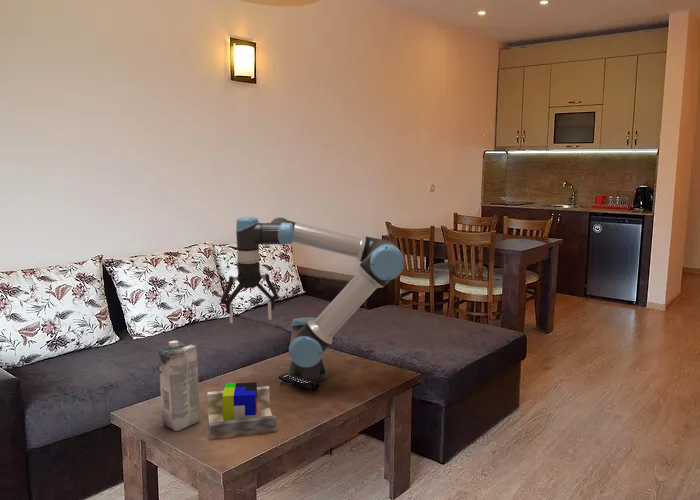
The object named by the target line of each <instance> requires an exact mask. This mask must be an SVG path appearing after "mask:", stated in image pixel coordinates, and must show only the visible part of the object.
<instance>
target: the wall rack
mask: <svg viewBox="0 0 700 500" xmlns="http://www.w3.org/2000/svg"><path fill="white" fill-rule="evenodd" d="M223 392H224V390H216V391H207V393H206V394H207V415H208V430H209V431H208V432H209V440H219V439H225V438H226V439H227V438H235V437H242V436H251V435H261V434H266V433H275V432H277V416H276V415H275V414H272V410H271V405H270V404H271V401H270V400H271V397H270V396H271V395H270V385H265V386H259V387H258V386H257V417H255V418H246V419H238V420H229V421H223Z"/></svg>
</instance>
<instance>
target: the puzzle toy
mask: <svg viewBox="0 0 700 500" xmlns="http://www.w3.org/2000/svg"><path fill="white" fill-rule="evenodd" d="M257 385H258V383H257V381H256V382H253V381H252V382H232V383H225V385H224V389H223V391H224V392H223V421H229V420H238V419H246V418H255V417H257V387H258V386H257Z"/></svg>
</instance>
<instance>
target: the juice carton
mask: <svg viewBox="0 0 700 500" xmlns="http://www.w3.org/2000/svg"><path fill="white" fill-rule="evenodd" d="M157 350H158V368H159V370H158V371H159V385H160V386H159V387H160V388H159V389H160V403H161V418H162V423H163V425H164V426H165V427H167V428H170V429H171V430H174V431H176V432H180V431H181V430H184V429H185V428H187V427H190V426H193V425H195V424H197V423H199V422H200V395H199V394H200V391H199V390H200V389H199V372H198V371H199V365H198V346H197V345H194V344H191V343H189V342H185V341H178V340H171V341H168V346H162V347H159V348H158V349H157Z"/></svg>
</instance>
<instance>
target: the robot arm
mask: <svg viewBox="0 0 700 500" xmlns="http://www.w3.org/2000/svg"><path fill="white" fill-rule="evenodd" d="M235 228H236V229H235V234H236V236H235V237H236V250H237V252H236V253H237V255H236V257H237V262H238V263H237V276H232V275H229V277H228V283H227V284H226V287H225V290H224V291H223V293H222V296H221V298H220V300H219V301H220V304H222V305H225V312H226V314H227V315H228V314H229V323H230V324H233V323H234V321H233V320H234V319H233V304H232V302H233V301H234V299H235V298H236V297H237V295H239V293H240V291H242V289H247V290H248V289H255V288H258V289H259V290H260V291H261V292H262V293H263V294H264V295H265V296H266V297H267V298H268V300H267V315H268V316H267V317H268V320H270V321H271V320H272V311H274V310H275V301H277V300H279V298H280V296H279V294H278V293H277V290H276V289H275V288H274V286H273V283H272V281H271V280H270V275H269V274H268V273H264V274H261V268H260V265H261V264H260V245H263V246H264V245H281V246H284V245H292V244H293V243H294V244H298V245H303V246H308V247H310V248H315V249H318V250H324V251H328V252H332V253H336V254H340V255H345V256H348V257H352V258H356V259H357V261H358V262H360V263H359V265H358V269H359V271H358V272H357V273H356V274H355V275H354V276H353V278H352V279H351V280H350V281H349V282H348V283H347V284H346V285H345V286H344V288H343V289H342V290H341V291H340V292H339V293H338V294H337V295H336V296H335V298H334V299H332V300H331V302H330V303H329V304H328V305H327V306H326V307H325V308H324V309H323V311H321V312H320V314H319V315H318V316H317V317H310V316H309V317H308V316H307V317H298V318H297V317H296V318H293V319H292V321H291V325H290V328H291V338H290V343H289V345H288V353H289V357H290V359H291V360H290V363H289V365H288V369H287V376H288V375H289V376H291V377H294V378H298V379H304V380H307V381H311V382H315V383H314V384H316V383H320V382H323V381H324V380H326V379H327V378H328V370H327V366H326V364H325V360H324V358H323V354H324V352H326V351H327V349H328V348H329V347H331V345H332V344H333V336H335V334H336V333H337V332H339V330H340V329H341V328H342V327H343V325H344V324H346V322H347V321H348V320H350V318H351V317H352V315H354V314H355V313H356V312H357V310H358V309H359V308H360V307H361V306H362V305H363V304H364V303H366V301H367V299H369V297H370V296H371V295H372V294H374V292H375V291H376V290H377V289H379V288H381V289H382V288H384V287H385V286H386V285H387V284H388V283H389V282H390V281H391V280H394V279H396V278H397V277H398V276H400V274H402V271H403V269H404V265H405V259H404V255H403V253H402V251H401V250H400V249H399V247H397V245H396V244H395V243H394V242H393V241H392V240H391V241H390V240H388V239H384V238H383V239H382V238H377V237H371V236H370V237H369V236H366V235H364V236H362V237H358V236H354V235H351V234H347V233H341V232H338V231H333V230H330V229H329V230H328V229H326V228H321V227H318V226H317V227H316V226H313V225H308V224H305V223H301V222H296V221H292V220H288V219H287V218H285V217H276V218H274V219H272V220H271V222H259V219H258V217H256V216H243V217H241V216H240V217H239V218H237V219H236V227H235ZM262 279H263V281H265V282H266V284H267V286H268V287H269V289H270V291H271V293H272V295H273V296H272V295H271V294H270V293H269V292H268V290H266V289H265V288H264V286H262V284H261V283H260V281H261V280H262ZM236 281H237V282H238V284H237V286H236V288H235V289H234V290H233V291H232V292H231V289H232V287H233V284H235V283H236ZM230 292H231V294H230ZM229 294H230V295H229Z"/></svg>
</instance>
